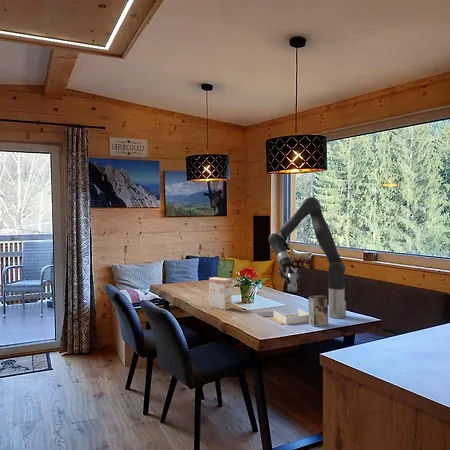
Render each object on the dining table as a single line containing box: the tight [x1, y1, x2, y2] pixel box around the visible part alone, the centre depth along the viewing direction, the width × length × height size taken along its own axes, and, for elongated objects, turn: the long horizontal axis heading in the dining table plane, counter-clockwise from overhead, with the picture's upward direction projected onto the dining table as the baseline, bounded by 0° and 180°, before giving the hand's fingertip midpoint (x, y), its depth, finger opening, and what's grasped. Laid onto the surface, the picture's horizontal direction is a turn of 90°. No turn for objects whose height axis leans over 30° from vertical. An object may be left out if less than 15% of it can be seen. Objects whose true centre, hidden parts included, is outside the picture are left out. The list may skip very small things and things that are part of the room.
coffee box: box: [308, 294, 329, 327], centre depth 244 cm, size 9×6×16 cm
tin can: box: [287, 273, 298, 292], centre depth 255 cm, size 6×6×10 cm
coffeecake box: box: [208, 276, 233, 311], centre depth 288 cm, size 15×7×20 cm, turn 44°
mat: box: [256, 311, 274, 318], centre depth 268 cm, size 10×10×1 cm
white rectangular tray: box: [268, 308, 309, 325], centre depth 257 cm, size 23×18×4 cm
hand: (293, 282), depth 254 cm, fingers closed on tin can, 5 cm apart
